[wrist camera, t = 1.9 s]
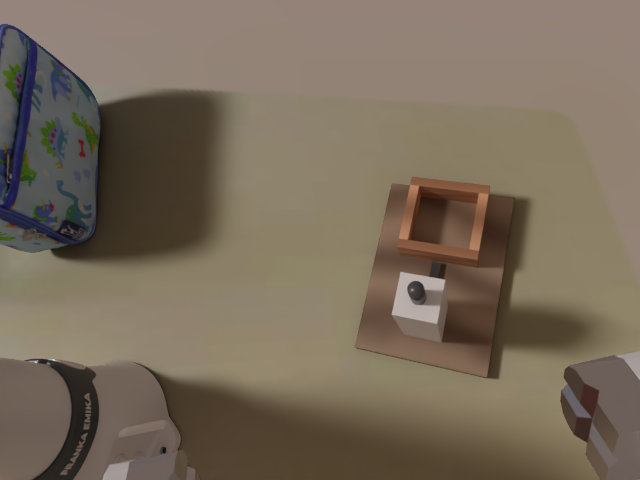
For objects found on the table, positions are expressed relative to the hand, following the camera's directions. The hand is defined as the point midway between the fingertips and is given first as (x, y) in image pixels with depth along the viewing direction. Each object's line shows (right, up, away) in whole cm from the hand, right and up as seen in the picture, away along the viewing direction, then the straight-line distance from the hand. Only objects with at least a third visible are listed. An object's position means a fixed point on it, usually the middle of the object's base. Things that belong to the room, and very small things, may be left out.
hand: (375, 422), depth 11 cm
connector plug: (+10, -5, +44) cm, 46 cm away
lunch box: (-37, +13, +65) cm, 76 cm away
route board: (+12, 0, +46) cm, 48 cm away
